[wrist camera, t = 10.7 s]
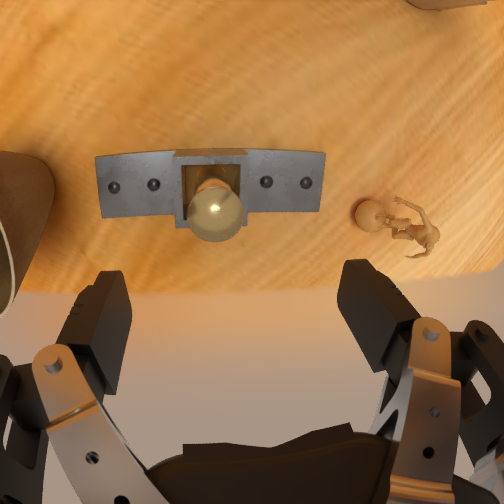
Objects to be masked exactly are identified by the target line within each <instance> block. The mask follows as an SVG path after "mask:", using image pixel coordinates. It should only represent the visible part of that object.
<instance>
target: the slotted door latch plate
mask: <svg viewBox="0 0 504 504" xmlns="http://www.w3.org/2000/svg"><path fill="white" fill-rule="evenodd" d="M325 156H326V153H324V152H314V151H299V150H280V149H247V148H212V149H179V150H161V151H146V152H134V153H123V154H114V155H105V156H97V157H95V165H96V175H97V184H98V192H99V200H100V207H101V214H102V218H115V217H131V216H150V215H171V214H175V226H176V228H190V227H189V224H188V220H187V212H188V206H189V204H188V205H186V194H185V165H203V164H235V194H236V195H237V196H238V197H239V199H240V201H241V203H242V206H243V209H244V221H243V224H242V226H247V214H248V212H319V207H320V199H321V191H322V183H323V174H324V166H325Z"/></svg>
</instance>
